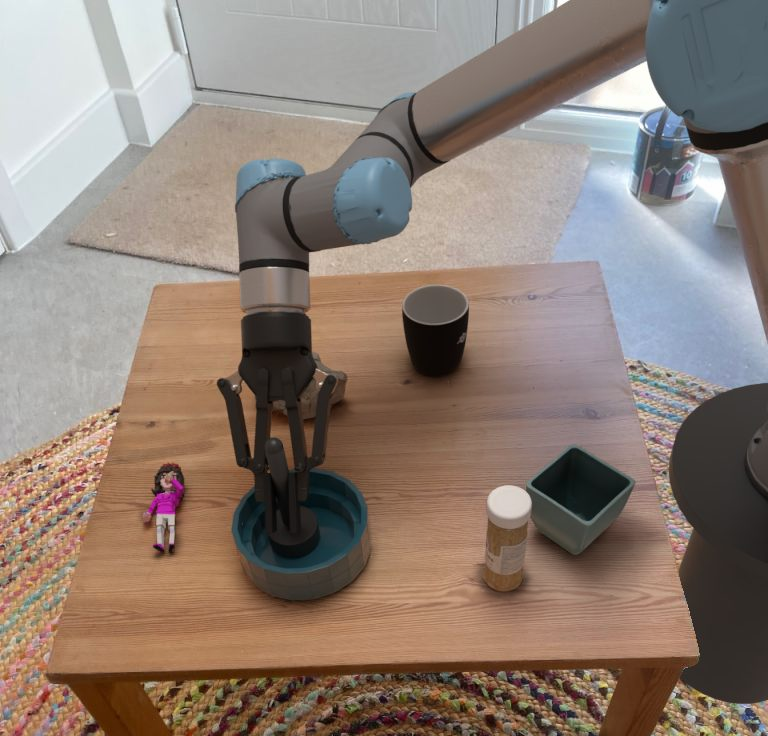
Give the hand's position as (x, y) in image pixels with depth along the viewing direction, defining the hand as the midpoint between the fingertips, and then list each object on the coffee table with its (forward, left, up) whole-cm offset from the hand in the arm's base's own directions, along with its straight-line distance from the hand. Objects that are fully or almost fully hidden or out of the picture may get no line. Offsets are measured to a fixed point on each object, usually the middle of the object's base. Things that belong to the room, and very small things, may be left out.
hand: (283, 531), depth 93 cm
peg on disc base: (+4, -1, -6) cm, 7 cm away
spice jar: (-10, -22, -7) cm, 25 cm away
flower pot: (-7, -32, -7) cm, 34 cm away
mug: (+29, -29, -7) cm, 42 cm away
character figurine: (+14, +13, -7) cm, 20 cm away
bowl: (+2, -2, -7) cm, 8 cm away
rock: (+26, -8, -7) cm, 28 cm away
